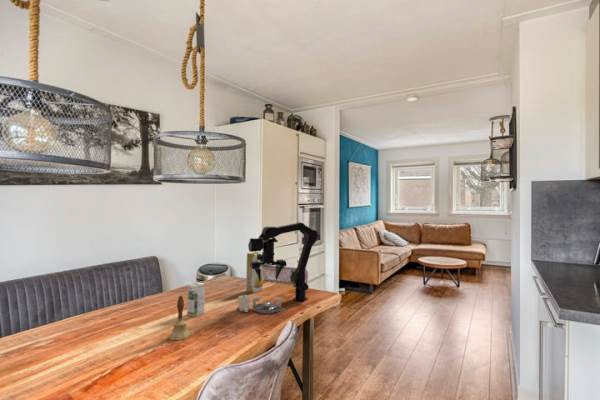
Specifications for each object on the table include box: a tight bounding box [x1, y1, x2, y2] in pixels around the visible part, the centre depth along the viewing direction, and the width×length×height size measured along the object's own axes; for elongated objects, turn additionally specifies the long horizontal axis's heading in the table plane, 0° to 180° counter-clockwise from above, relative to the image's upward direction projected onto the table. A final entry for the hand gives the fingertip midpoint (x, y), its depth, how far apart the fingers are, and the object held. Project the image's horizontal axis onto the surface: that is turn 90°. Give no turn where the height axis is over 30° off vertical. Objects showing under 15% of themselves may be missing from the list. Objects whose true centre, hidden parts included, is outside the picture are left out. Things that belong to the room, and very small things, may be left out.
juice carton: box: [245, 251, 264, 293], centre depth 191 cm, size 9×8×24 cm
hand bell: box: [168, 295, 192, 341], centre depth 126 cm, size 8×8×16 cm
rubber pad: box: [236, 306, 252, 313], centre depth 158 cm, size 7×7×1 cm
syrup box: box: [186, 281, 206, 318], centre depth 151 cm, size 6×6×14 cm
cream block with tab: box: [237, 294, 250, 313], centre depth 158 cm, size 10×4×6 cm, turn 25°
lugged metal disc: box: [252, 297, 282, 315], centre depth 159 cm, size 14×14×5 cm
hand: (267, 280), depth 167 cm, fingers open, 9 cm apart
